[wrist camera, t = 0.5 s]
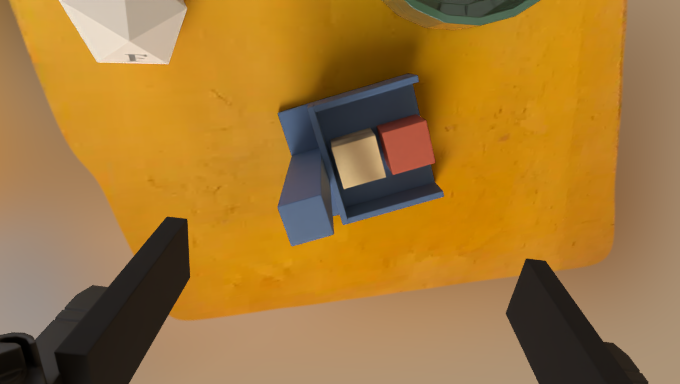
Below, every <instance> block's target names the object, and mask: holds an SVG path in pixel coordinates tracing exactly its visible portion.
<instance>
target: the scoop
mask: <svg viewBox="0 0 680 384" xmlns="http://www.w3.org/2000/svg"><path fill="white" fill-rule="evenodd" d="M417 82H419V80H418V75H414V74H409V73H408V74H405V75H402V76H398V77H395V78H392V79H388V80H385V81H382V82H378V83H375V84H372V85H368V86H365V87H361V88H358V89H355V90H351V91H348V92H345V93H341V94H338V95H335V96H331V97H328V98H325V99H321V100H318V101H315V102H311V103H308V104H305V105H301V106H298V107H295V108H291V109H288V110H285V111H281V112H278V116H279V119H280V122H281V125H282V128H283V131H284V134H285V137H286V140H287V143H288V146H289V149H290V152H291V155H292V157H291V161H290V165H289V168H288V172H287V175H286V179H285V182H284V186H283V190H282V193H281V197H280V200H279V204H278V210H279V213H280V216H281V218H282V221H283V224H284V227H285V230H286V232H287V235H288V238H289V241H290V243H291V246H295V245H299V244H302V243H306V242H309V241H313V240H316V239H320V238H323V237H327V236H330V235H333V234H334V228H333V216H336V215H339V214H340V217H341V220H342V223H343V225H345V224H349V223H352V222H356V221H359V220H363V219H367V218H370V217H374V216H377V215H381V214H384V213H388V212H391V211H395V210H398V209H402V208H405V207H409V206H412V205H416V204H419V203H423V202H426V201H430V200H434V199H437V198H441V197H444V194H443V191H442V190H441V189H440V187H439V186H438V185H437V184H436V183H435V181H434V177H433V172H432V168H431V164H429V165H426V166H423V167H419V168H416V169H412V170H409V171H405V172H402V173H398V174H395V175H393V174H392V173H391V171H390V169H389V168H388V166H387V164H386V161H385V157H384V153H383V150H382V146H381V142H380V138H379V134H378V130H377V127H376V126H377V125H381V124H384V123H387V122H391V121H394V120H398V119H401V118H404V117H408V116H411V115H415V114H417V115H418V116H420V114H419V110H418V105H417V101H416V96H415V92H414V87H413V83H417ZM367 128H371V130H372V131H373V133H374V134H375V136H376V140H377V144H378V148H379V151H380V155H381V159H382V163H383V167H384V170H385V174H386V177H384V178H381V179H378V180H374V181H371V182H367V183H364V184H360V185H357V186H353V187H350V188H346V189H344V188H343V185H342V182H341V178H340V175H339V172H338V168H337V165H336V162H335V158H334V155H333V152H332V148H331V139H333V138H336V137H340V136H343V135H347V134H350V133H353V132H357V131H360V130H364V129H367Z"/></svg>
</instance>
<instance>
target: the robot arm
mask: <svg viewBox="0 0 680 384" xmlns="http://www.w3.org/2000/svg"><path fill="white" fill-rule="evenodd" d="M189 278H190V267H189V246H188V225H187V219H183V218H175V217H166V218H165V220H164V221H163V222H162V223H161V224H160V226H159V227H158V228H157V229H156V230H155V232H154V233H153V234H152V235H151V236H150V238H149V239H148V240H147V241H146V242H145V244H144V245H143V246H142V247H141V248H140V250H139V251H138V252H137V253H136V254H135V256H134V257H133V258H132V259H131V260H130V262H129V263H128V264H127V265H126V266H125V268H124V269H123V270H122V271H121V272H120V274H119V275H118V276H117V277H116V278H115V280H114V281H113V282H112V283H111V285H110V286H109V287H103V286H94V285H92V286H91V287H89V288H87V289H86V290H84V291H82V292H81V293H79V294H77V295H76V296H75V297H74V298H73V299H72V300H71V302H69V304H68V305H67V306H66V307H65V310H62V311H61V312H60V313H59V314H58V315H57V317H56V319H55V320H53V321H52V322H51V323H50V324H49V326H47V327H46V329H45V330H44V331H43V332H42V333H41V334H40V335H39V336H38V337H37V338H36V340H34V338H33V337H32V336H31V335H28V334H26V333H8V334H3V335H0V384H129V382H130V381H131V379H132V377H133V375H134V374H135V372H136V370H137V368H138V367H139V365H140V363H141V361H142V360H143V358H144V356H145V355H146V353H147V351H148V349H149V348H150V346H151V344H152V342H153V341H154V339H155V337H156V335H157V334H158V332H159V330H160V329H161V326H162V325H163V323H164V321H165V320H166V318H167V316H168V315H169V313H170V311H171V309H172V308H173V306H174V304H175V303H176V301H177V299H178V297H179V296H180V294H181V292H182V290H183V289H184V287H185V285H186V283H187V282H188V280H189ZM506 315H507V317H508V319H509V321H510V324H511V326H512V328H513V330H514V332H515V334H516V336H517V338H518V340H519V342H520V345H521V347H522V349H523V351H524V353H525V355H526V357H527V360H528V362H529V363H530V366H531V368H532V370H533V372H534V374H535V376H536V379H537V381H538V383H539V384H648V381H647V380H646V378H645V377H644V376H643V374H642V373H640V372H639V369H638V368H637V366H636V365H635V364H634V363H633V361H632V360H631V359H630V357H629V356H628V355H627V354H626V353H624V352H623V351H622V350H621V349H620V348H618V347H617V346H616V345H615V344H614V343H609V342H603V341H602V339H601V338H600V337H599V335H598V334H597V332H596V331H595V330H594V328H593V327H592V325H591V324H590V322H589V321H588V320H587V318H586V317H585V315H584V314H583V313H582V311H581V310H580V308H579V307H578V306H577V304H576V303H575V301H574V300H573V299H572V298H571V296H570V295H569V293H568V292H567V290H566V289H565V287H564V286H563V285H562V283H561V282H560V280H558V278H557V276H556V275H555V273H554V272H553V271H552V269H551V268H550V266H549V265H548V264H547V262H546V261H542V260H534V259H526V260H525V263H524V266H523V268H522V271H521V274H520V276H519V279H518V282H517V284H516V287H515V290H514V293H513V295H512V298H511V300H510V303H509V306H508V309H507V312H506Z"/></svg>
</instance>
